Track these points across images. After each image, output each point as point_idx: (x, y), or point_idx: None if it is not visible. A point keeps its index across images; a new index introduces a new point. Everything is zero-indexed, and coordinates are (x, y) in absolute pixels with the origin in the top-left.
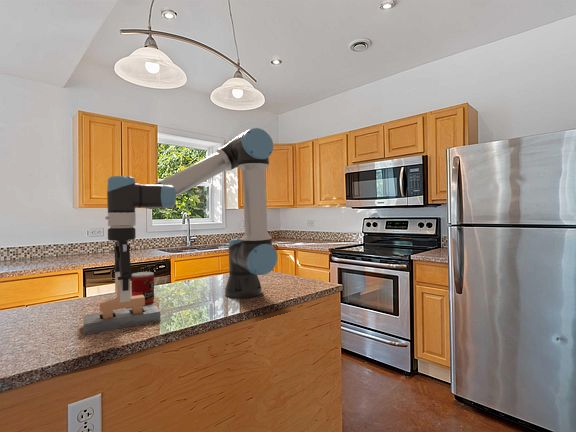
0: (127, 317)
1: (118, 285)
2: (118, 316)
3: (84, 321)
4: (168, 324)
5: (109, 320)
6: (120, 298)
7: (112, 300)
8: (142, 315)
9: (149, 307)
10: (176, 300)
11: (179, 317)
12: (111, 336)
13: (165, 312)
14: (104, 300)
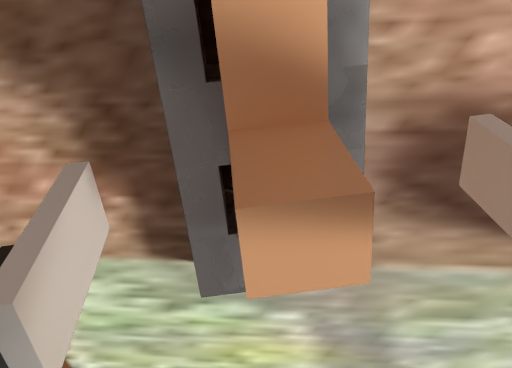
0: (171, 145)
1: (236, 209)
2: (206, 96)
3: None
4: (131, 288)
5: (150, 42)
6: (56, 183)
7: (264, 92)
8: (187, 217)
9: None
10: (504, 333)
11: (214, 329)
12: (40, 43)
13: None
14: (306, 25)
